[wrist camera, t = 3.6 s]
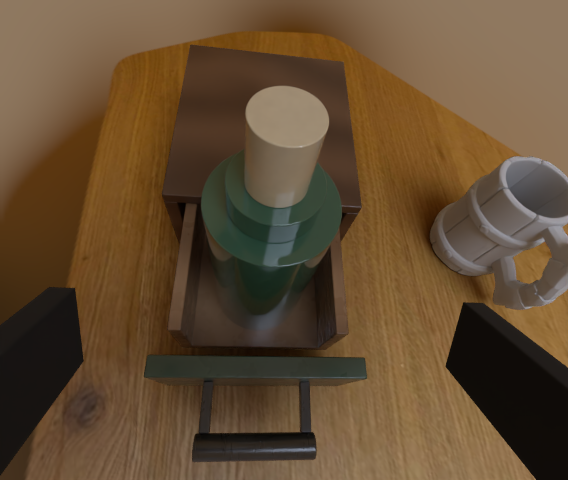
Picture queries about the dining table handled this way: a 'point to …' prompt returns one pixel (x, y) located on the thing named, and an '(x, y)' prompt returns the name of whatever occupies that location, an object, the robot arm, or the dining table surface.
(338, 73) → the cabinet
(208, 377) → the drawer
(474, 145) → the dining table surface
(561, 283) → the mug
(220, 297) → the oil bottle
